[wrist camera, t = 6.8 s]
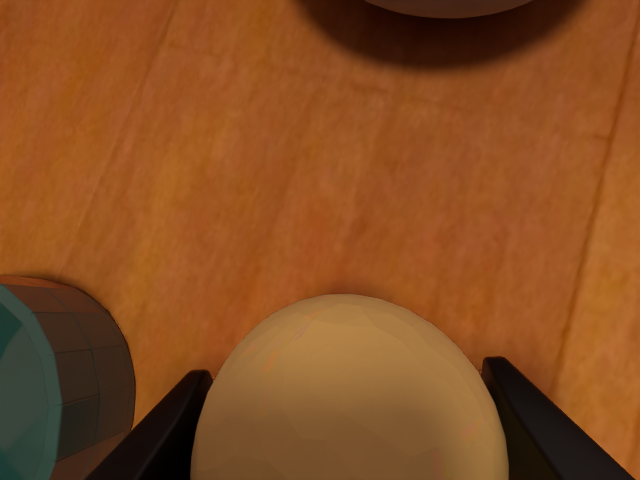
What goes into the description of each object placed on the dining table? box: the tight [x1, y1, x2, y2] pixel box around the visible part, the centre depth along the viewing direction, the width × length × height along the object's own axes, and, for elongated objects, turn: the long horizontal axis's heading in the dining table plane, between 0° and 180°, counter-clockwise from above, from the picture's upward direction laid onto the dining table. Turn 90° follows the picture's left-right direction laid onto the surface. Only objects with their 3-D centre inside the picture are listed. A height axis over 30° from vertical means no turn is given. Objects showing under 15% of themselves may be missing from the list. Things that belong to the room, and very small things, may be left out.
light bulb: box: [190, 294, 509, 480], centre depth 10 cm, size 6×6×10 cm
